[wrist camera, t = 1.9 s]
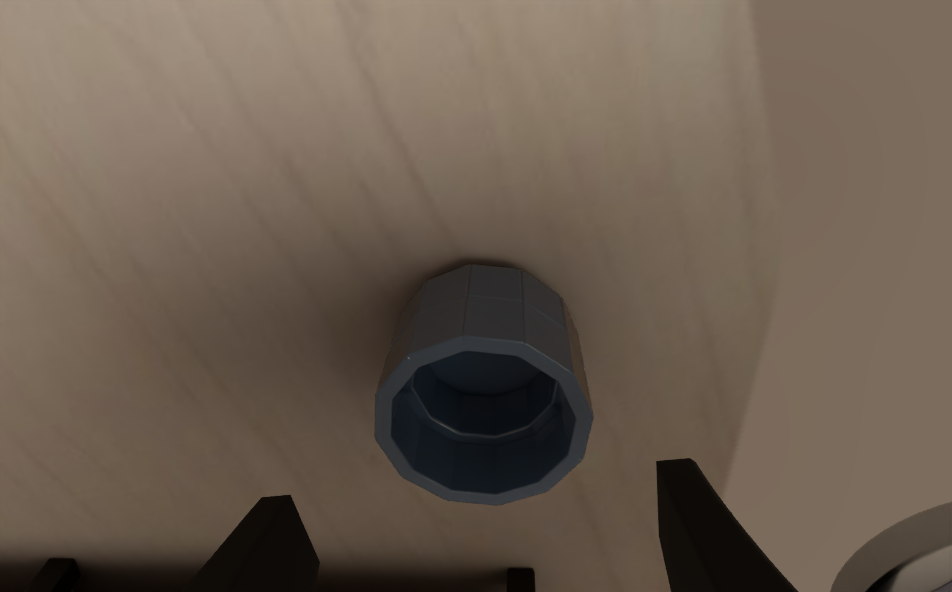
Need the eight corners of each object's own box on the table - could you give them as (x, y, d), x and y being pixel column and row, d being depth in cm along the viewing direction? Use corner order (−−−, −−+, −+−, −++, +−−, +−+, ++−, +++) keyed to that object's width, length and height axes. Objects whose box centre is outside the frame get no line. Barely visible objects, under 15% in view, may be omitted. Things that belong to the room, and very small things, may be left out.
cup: (610, 319, 17) (637, 413, 14) (504, 428, 20) (503, 532, 16) (465, 221, 16) (454, 296, 13) (368, 348, 18) (335, 442, 15)
